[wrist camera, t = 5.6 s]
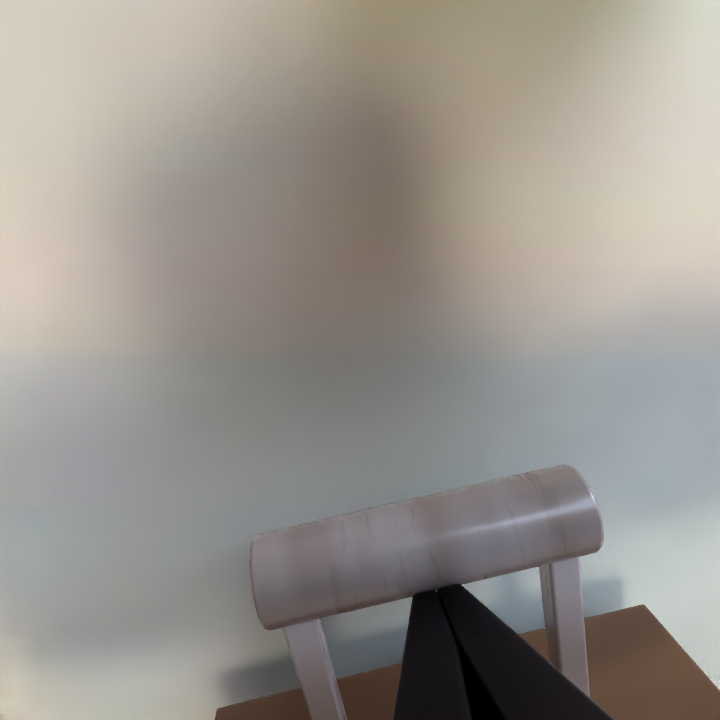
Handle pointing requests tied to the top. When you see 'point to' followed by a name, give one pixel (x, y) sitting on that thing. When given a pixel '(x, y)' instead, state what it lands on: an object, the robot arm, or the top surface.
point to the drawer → (461, 565)
